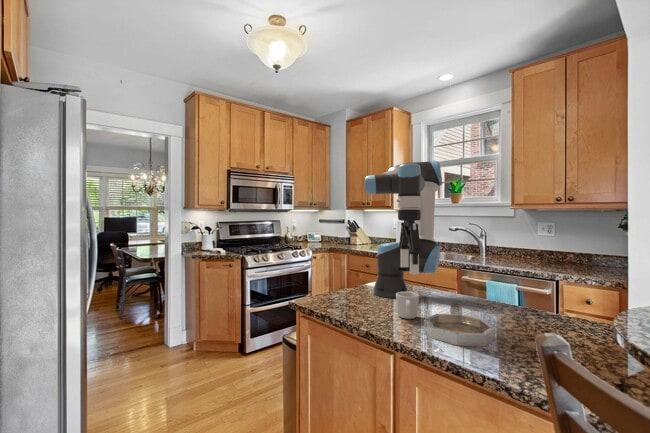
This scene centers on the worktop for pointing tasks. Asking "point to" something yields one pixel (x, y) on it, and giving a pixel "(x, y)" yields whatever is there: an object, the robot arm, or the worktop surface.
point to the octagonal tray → (459, 329)
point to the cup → (407, 304)
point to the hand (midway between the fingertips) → (409, 270)
